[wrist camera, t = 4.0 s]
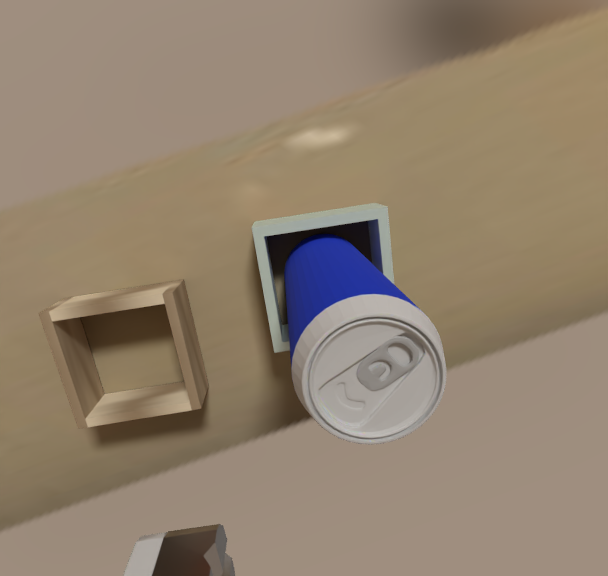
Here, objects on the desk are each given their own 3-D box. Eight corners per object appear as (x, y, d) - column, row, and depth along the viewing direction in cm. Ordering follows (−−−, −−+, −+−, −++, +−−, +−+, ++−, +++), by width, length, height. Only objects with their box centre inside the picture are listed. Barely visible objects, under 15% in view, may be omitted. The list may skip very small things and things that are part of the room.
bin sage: (375, 203, 26) (387, 206, 23) (386, 316, 28) (398, 332, 25) (254, 221, 26) (251, 227, 23) (274, 334, 28) (274, 352, 25)
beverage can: (321, 322, 28) (367, 479, 14) (267, 270, 27) (257, 383, 13) (377, 271, 27) (488, 381, 13) (325, 215, 26) (384, 268, 12)
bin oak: (183, 279, 27) (172, 292, 24) (208, 385, 29) (201, 408, 26) (64, 298, 27) (38, 313, 24) (98, 403, 29) (78, 428, 26)
